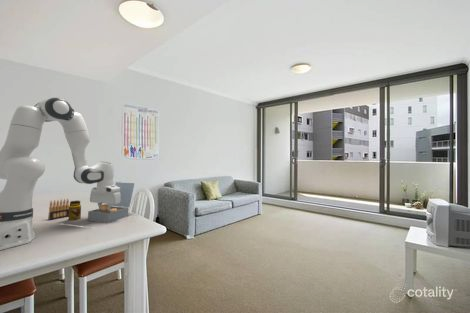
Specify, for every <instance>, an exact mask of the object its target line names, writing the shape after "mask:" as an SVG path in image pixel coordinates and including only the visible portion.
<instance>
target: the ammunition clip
mask: <svg viewBox="0 0 470 313" xmlns="http://www.w3.org/2000/svg"><path fill="white" fill-rule="evenodd" d="M69 206H70V201H69V198H63V200H62V199H60V201H59V199H57V201H56V200H55V199H54V200H53V201H52V200H50V201H49V206H48V207H49V210H48V218H47V219H48V221H54V220H59V219H65V218H69Z"/></svg>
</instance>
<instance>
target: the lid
mask: <svg viewBox="0 0 470 313" xmlns="http://www.w3.org/2000/svg"><path fill="white" fill-rule="evenodd" d="M114 185H116V186H118V187H120V191H119V192H120V194H121V201H120V203H119V204H112V206H115V207H127V208H130V206H131V202H132V201H131V200H132V196H133V191H134V187H135V182H121V181H120V182H117V181H115V184H114Z"/></svg>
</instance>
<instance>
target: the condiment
mask: <svg viewBox="0 0 470 313" xmlns="http://www.w3.org/2000/svg"><path fill="white" fill-rule="evenodd" d="M81 216H82V205H81V200H71V201H69V217H68V219H67V221H79V220H81V218H82V217H81Z"/></svg>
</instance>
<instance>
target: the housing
mask: <svg viewBox="0 0 470 313" xmlns="http://www.w3.org/2000/svg"><path fill="white" fill-rule="evenodd" d="M113 208H117V211H113V212H110V211H109V213H105V212H101V210H99V208H96V209H93V210H88V211H87V221H89V222H98V223H107V224H109V223H111V222H115V221H117V220H121V219H124V218H127V217H129V207H120V206H111V208H110V209H113Z"/></svg>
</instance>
